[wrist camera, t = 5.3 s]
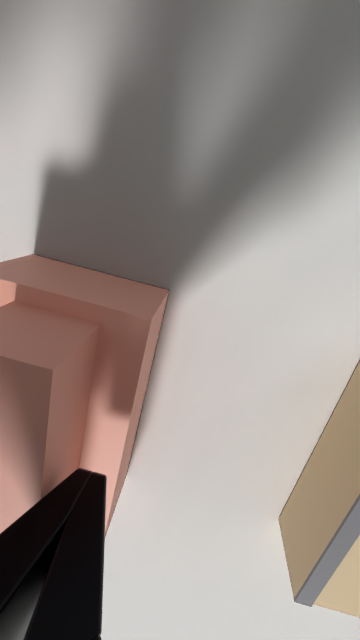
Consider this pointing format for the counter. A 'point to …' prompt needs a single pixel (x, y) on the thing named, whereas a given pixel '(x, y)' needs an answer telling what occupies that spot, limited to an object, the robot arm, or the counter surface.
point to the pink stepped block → (70, 376)
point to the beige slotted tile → (328, 514)
